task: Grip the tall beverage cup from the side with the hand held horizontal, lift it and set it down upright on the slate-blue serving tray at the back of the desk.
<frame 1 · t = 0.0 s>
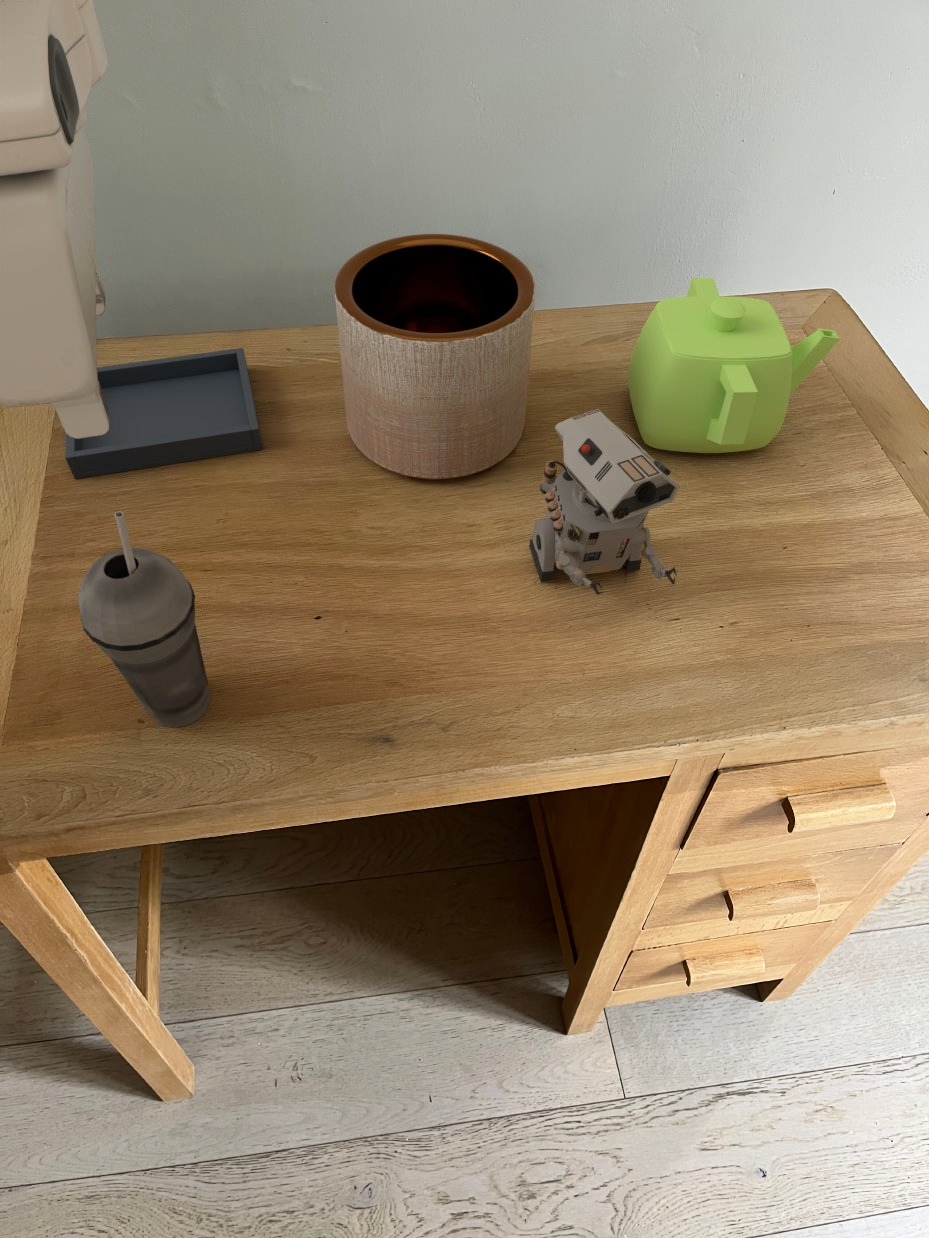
hand: (89, 364, 40), 31 cm above the table, tool pointing down, fingers open, 8 cm apart
planter: (436, 428, 87), on the table
figurine: (590, 580, 74), on the table
tray: (166, 420, 86), on the table
teapot: (714, 423, 88), on the table
beverage cup: (180, 703, 65), on the table
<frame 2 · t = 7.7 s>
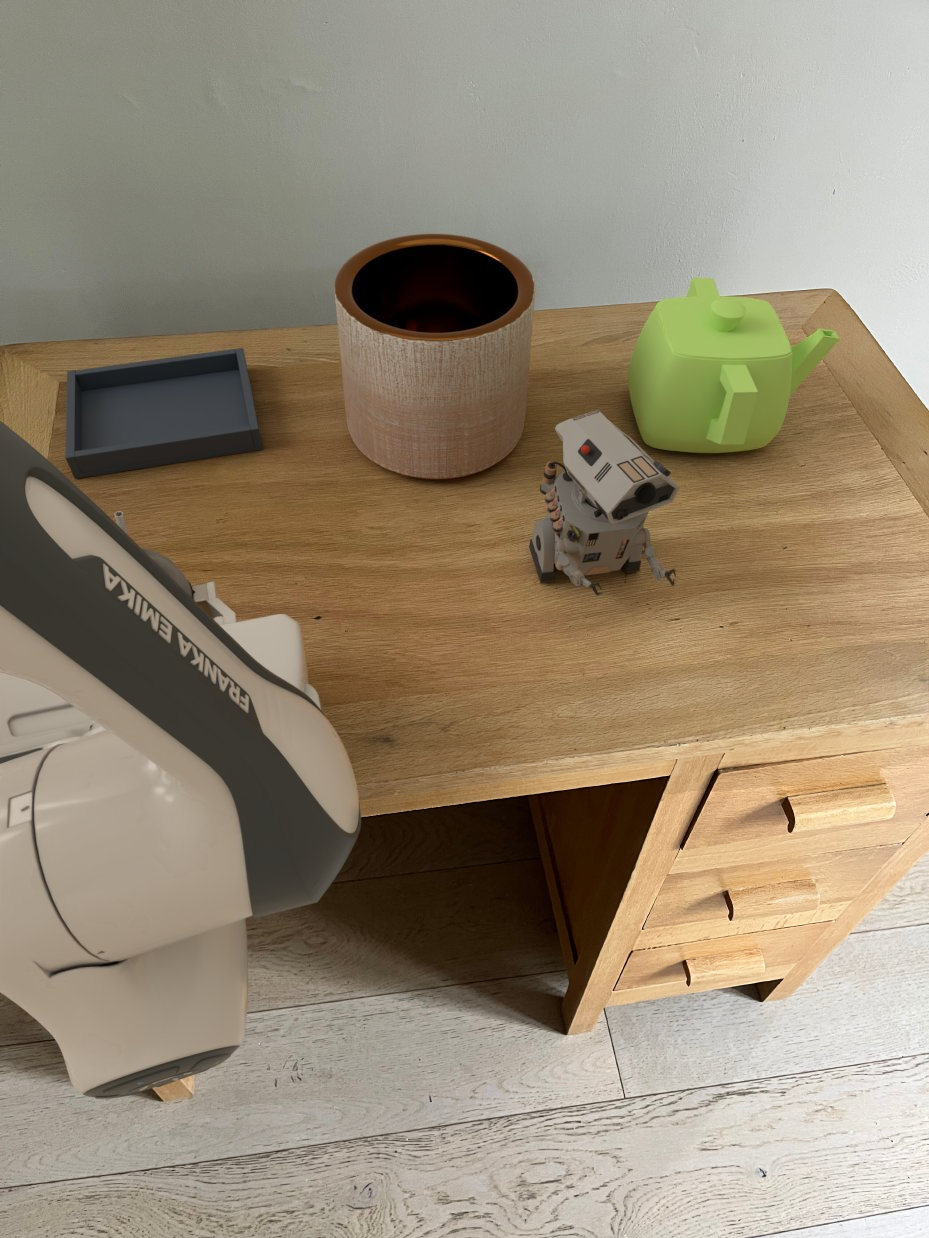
hand: (139, 601, 57), 11 cm above the table, tool horizontal, fingers closed on beverage cup, 7 cm apart
beverage cup: (180, 703, 65), on the table, touching gripper
everything else where it was.
when the fingers open (12 cm above the table, at t = 21.3 s): beverage cup stays where it is, resting on tray.
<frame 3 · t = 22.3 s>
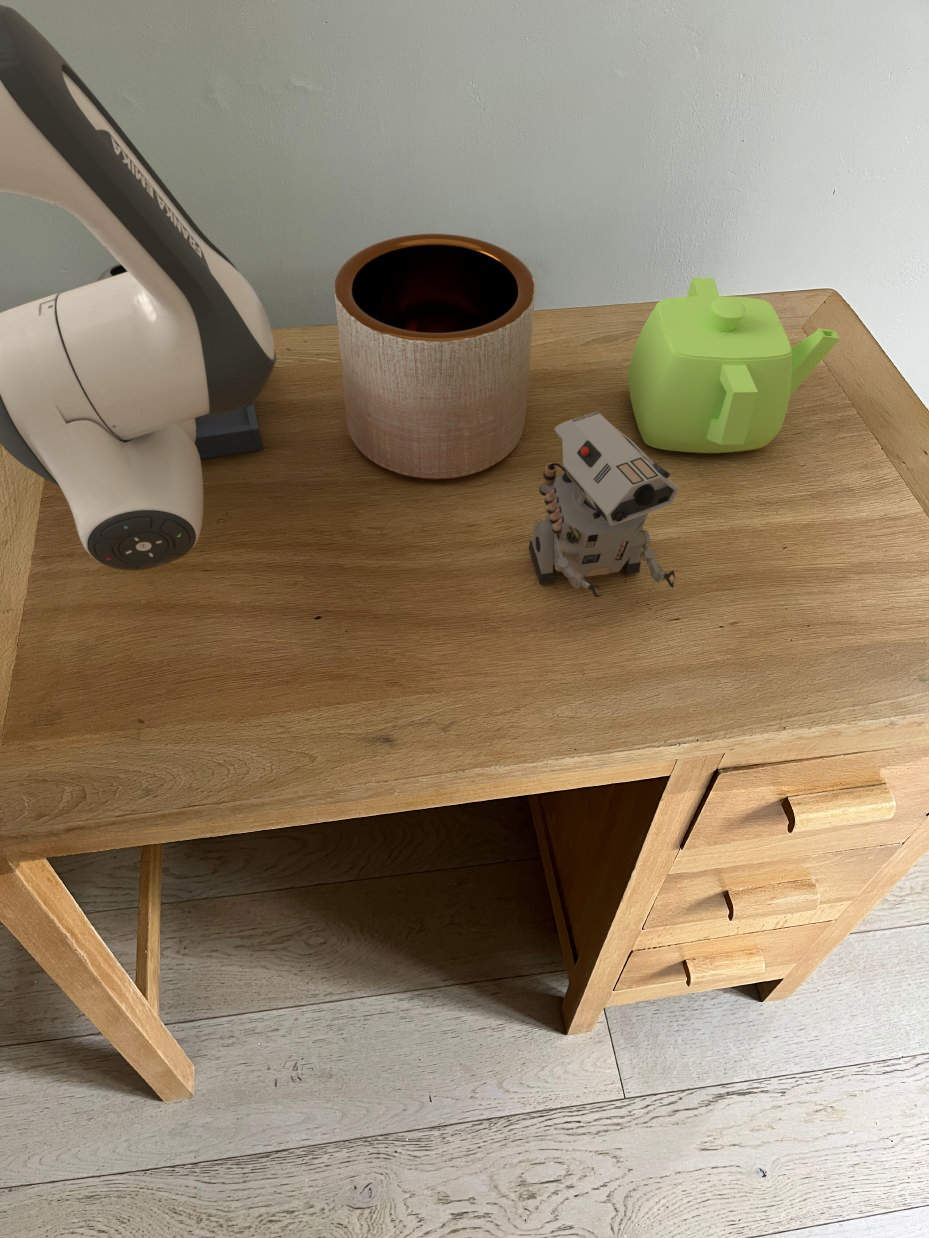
hand: (128, 309, 76), 13 cm above the table, tool horizontal, fingers open, 8 cm apart
beverage cup: (167, 417, 86), resting on tray
everything else where it was.
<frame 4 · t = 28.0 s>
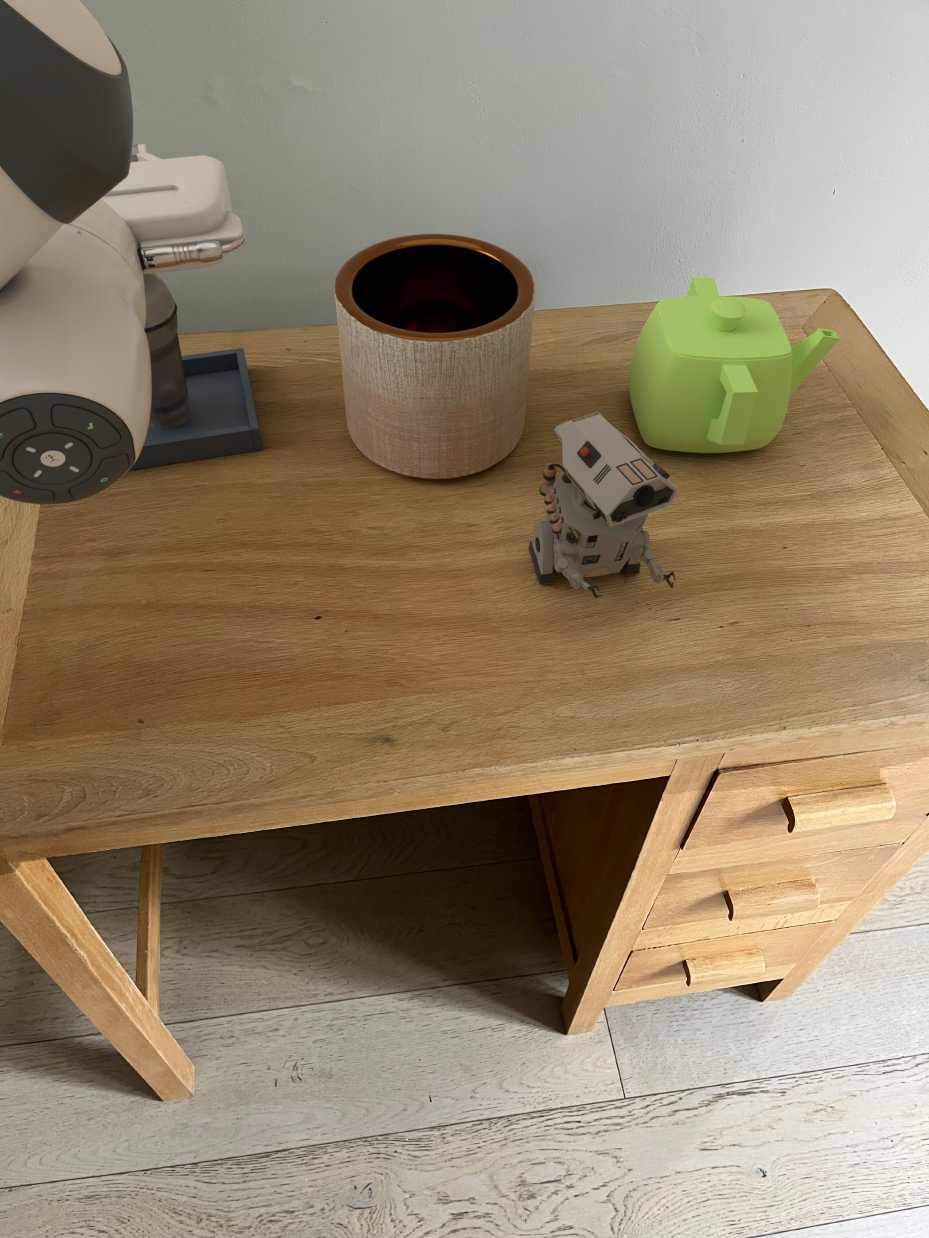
hand: (62, 163, 55), 30 cm above the table, tool horizontal, fingers open, 8 cm apart
nothing on the table moved.
at the end: beverage cup inside the target area in the tray (0.2 cm from its centre), point 0.4 cm above the tray's base; beverage cup tilted 0°; the gripper is holding nothing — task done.
